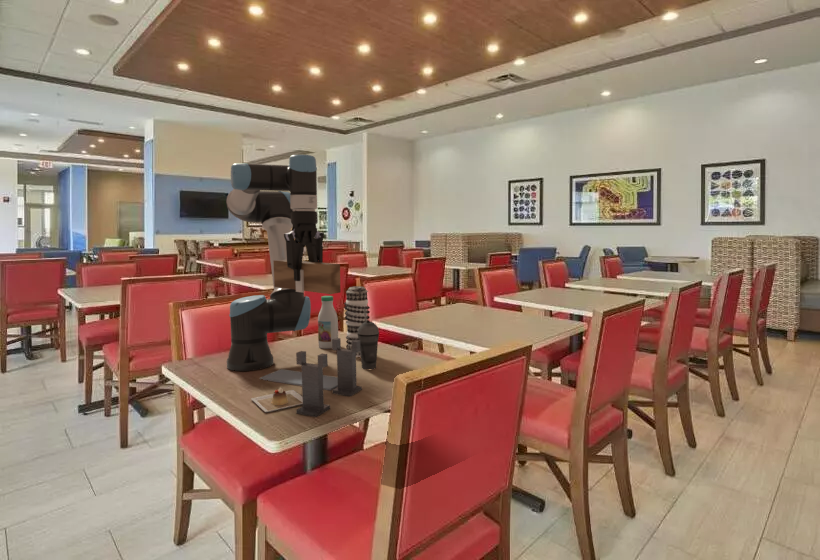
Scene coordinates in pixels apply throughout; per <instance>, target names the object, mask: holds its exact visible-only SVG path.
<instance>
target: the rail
mask: <svg viewBox="0 0 820 560" xmlns="http://www.w3.org/2000/svg"><path fill="white" fill-rule="evenodd" d="M301 270H303V271H304V292H311V293H317V294H318V293H319V294H326V295H334V294H340V293H341V292H342V291H341V264H340V263H329V262H323V263H319V262H309V261H306V260H305V261H304V260H302V266H301ZM274 287H280V288H288V289H295V290H296V281H294V270H293V269H291V268H288V266H287V260H274V286H273V288H274Z"/></svg>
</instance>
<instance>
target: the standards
mask: <svg viewBox="0 0 820 560" xmlns="http://www.w3.org/2000/svg"><path fill="white" fill-rule="evenodd" d="M341 344H342V343H341V338H340V337H338V338H334V339H332V348H331V349H332V351H336V366H337V367H336V368H337V370H336V371H337V372H336V373H337V376H336V377H338V387H336V388H334V389H332V390H331V392H332V394H334V395H338V396H339V395H341V396H345V397H346V396H347V397H352V396H354V395H355V393H356V394H358V393H359V392H361V391H362V390H363V388H362V387H363V386H360V385H357V358H356V353H357V352H359V351H360V340H354V341H352V350H348V349H347V348H341V346H342V345H341ZM295 354H296V355H295V357H296V358H295V359H296V365H299V366H301V372H302V386H301V390H302V392H301V393H302V395H301V396H302V397H303V405H301V407H299V408H297V409H296V410H295V411H296V415H297V414H298V415H301V416H302V415H303V416H307V417H308V416H309V417H312V418H318V417H320V415H322V414H324V413H326V412H327V411H329V410H331V405H330V404H327V403H326V404H325V402H324V401H325V398H324V397H325V395H324V389H323V375H324V368H325V367H328V363H329V362H328V353H320V354H318V355H317V363H309V362H307V351H304V350H299V351H297V352H296V353H295ZM360 390H361V391H360Z"/></svg>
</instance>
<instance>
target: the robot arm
mask: <svg viewBox="0 0 820 560" xmlns="http://www.w3.org/2000/svg"><path fill="white" fill-rule="evenodd" d="M316 159H317V158H316V157H315V156H313V155H309V154H292V155H290V156H289V160H288V163H289V164H262V163H246V162H243V163H241V162H240V163H239V162H238V163H232V164H231V166H230V184H231V187H232V188H233V189H232V190H231V191H230V192H229V193H228V195H227V196H226V200H225V201H226V207H227V210H228V211H229V213H230V214H231V215H232V216H234V217H235V218H237V219H239V220H241V221H242V222H243V221H244V222H247V223H258V224H259V223H261V227H262V229H263V230H264V231H266V235H267V236H266V237H267V242H268V252H269V259H270V260H269V261H270V268H271V277H272V285H273V291H272V292H271V293H270V296H269V297H270V298H268V299H267V297H266V295H264V294H259V295H251V296H245V297H240V298H237V299H235V300H233V301H232V302H231V303H230V304H229V314H228V316H229V318H230V320H229V321H230V343H231V345H230V348H229V352H228V357H227V359H226V368H227V369H228V370H231V371H234V370H235V372H249V371H250V370H252V371H257V370H258V369H259V370H263V369H266V368H270V367H271V366H272V365H274V356H273V354H272V352H271V349H270V346H269V342H268V334H271V333H281V332H296V331H302V330H304V329H306V328H308V326H309V324H310V320H311V310H312V309H311V306H312V304H311V298H310V297H309V296H307V295H305V294H304V293H305V291H304V271H303V270H301V266H302V261H303V257H304V249H305V247H306V253H307V258H308V262H319V263H324V261H323V260H324V259H323V258H324V257H323V256H324V255H323V254H324V253H323V251H324V249H323V248H324V238H325V232H323V231H319V230H318V228H317V224H318V222H319V221H318V220H319V219H318V218H319V217H318V212H317V211H316V210H317V209H318V188H317V187H318V186H317V185H318V183H317V182H318V181H317V179H318V178H317V171H318V167H317V160H316ZM274 260H287V266H288V268H291V269H293V270H294V281H296V290H295V289H288V288H280V287H274Z"/></svg>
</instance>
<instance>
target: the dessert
mask: <svg viewBox="0 0 820 560" xmlns="http://www.w3.org/2000/svg"><path fill="white" fill-rule="evenodd" d="M288 395H291V396H293V397H294V398H295V399H297V400H298V401H300V403H296V404H292V405H291V404H290V405H287V406H283V405H286V404H288V403H289V399H288ZM267 399H271V402H270V403H271V405H273V406H283V407H279V408H274V409H269V410H268V409H267V408H266V407H264V406H263V405H262V404H261V403H260V402H259V401H263V400H267ZM250 400H251V401H252V402H253V403H255V404H256V405H257V406H258V407H259V408H260V409H261V410H262V411H263V412H264V413H272V412H275V411H281V410H285V409H289V408H292V407H297V406H298V407H299V406H303V396H302V395H301V394H300V393H298V392H297V391H296V390H294V389H290V390H284V388H282V387H281V386H279V388H278V389H275V390H274V392H273V393H270V394H265V395H261V396H257V397H251V398H250Z"/></svg>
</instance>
